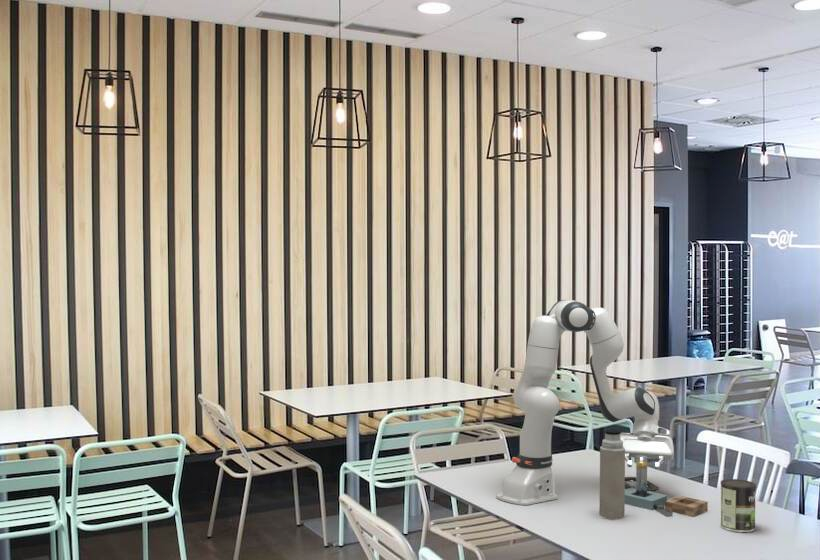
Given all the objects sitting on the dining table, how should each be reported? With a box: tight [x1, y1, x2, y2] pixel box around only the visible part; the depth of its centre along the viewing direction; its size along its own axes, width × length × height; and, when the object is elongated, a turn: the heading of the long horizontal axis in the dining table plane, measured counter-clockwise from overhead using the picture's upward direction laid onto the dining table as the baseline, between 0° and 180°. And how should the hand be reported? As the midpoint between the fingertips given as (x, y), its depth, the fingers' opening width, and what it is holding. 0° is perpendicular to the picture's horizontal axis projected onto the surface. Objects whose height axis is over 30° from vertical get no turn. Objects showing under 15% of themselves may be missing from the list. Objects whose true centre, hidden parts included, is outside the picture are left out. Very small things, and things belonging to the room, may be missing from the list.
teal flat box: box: [625, 488, 669, 511], centre depth 293 cm, size 10×14×3 cm
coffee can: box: [720, 478, 757, 533], centre depth 266 cm, size 10×10×14 cm
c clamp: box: [625, 476, 660, 492], centre depth 314 cm, size 20×17×3 cm
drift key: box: [653, 504, 673, 518], centre depth 282 cm, size 8×2×2 cm, turn 14°
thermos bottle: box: [599, 429, 626, 520], centre depth 278 cm, size 8×8×28 cm
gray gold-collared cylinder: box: [635, 455, 648, 497], centre depth 293 cm, size 4×4×16 cm
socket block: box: [664, 495, 709, 518], centre depth 284 cm, size 10×10×3 cm
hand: (643, 467), depth 296 cm, fingers open, 8 cm apart
